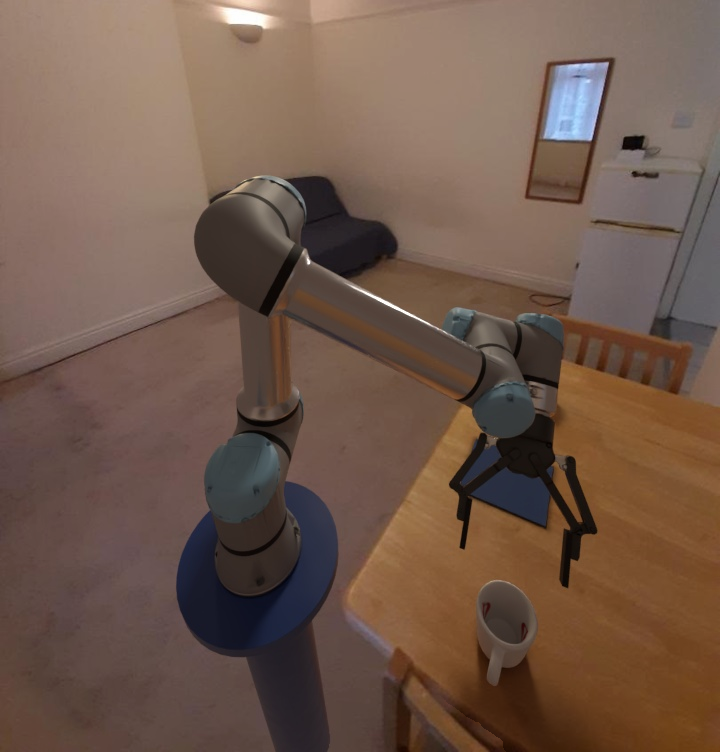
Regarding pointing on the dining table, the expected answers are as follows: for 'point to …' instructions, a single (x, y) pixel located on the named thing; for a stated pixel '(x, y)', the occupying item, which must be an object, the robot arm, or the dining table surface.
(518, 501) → the napkin
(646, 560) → the dining table surface
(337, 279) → the robot arm
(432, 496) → the dining table surface
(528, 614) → the cup
